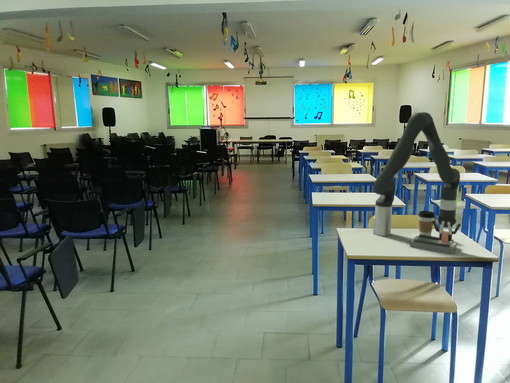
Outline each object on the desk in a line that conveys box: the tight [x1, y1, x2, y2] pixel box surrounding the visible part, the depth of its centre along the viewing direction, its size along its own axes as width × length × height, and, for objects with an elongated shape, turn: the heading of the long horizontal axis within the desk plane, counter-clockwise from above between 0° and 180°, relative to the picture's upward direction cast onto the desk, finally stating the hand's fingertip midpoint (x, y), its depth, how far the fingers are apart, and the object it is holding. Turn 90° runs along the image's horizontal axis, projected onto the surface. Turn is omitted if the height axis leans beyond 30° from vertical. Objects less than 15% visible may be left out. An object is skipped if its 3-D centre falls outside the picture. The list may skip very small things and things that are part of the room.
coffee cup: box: [417, 210, 435, 236], centre depth 218 cm, size 8×8×15 cm
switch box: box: [409, 234, 458, 255], centre depth 202 cm, size 20×12×4 cm, turn 53°
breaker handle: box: [438, 230, 453, 245], centre depth 198 cm, size 6×7×6 cm
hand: (445, 240), depth 198 cm, fingers closed on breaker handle, 3 cm apart
